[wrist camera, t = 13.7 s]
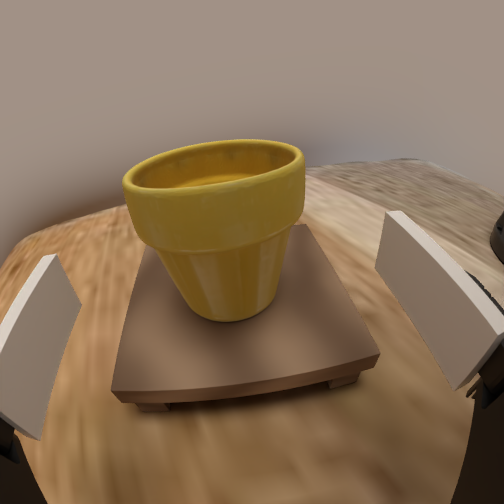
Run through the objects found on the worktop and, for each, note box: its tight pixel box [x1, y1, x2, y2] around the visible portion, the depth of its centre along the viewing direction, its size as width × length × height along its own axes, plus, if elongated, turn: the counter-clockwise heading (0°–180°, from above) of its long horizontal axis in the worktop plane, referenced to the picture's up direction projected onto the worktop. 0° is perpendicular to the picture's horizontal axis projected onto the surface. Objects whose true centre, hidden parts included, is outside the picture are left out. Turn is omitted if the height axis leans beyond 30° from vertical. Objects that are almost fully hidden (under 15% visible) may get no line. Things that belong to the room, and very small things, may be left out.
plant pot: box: [122, 139, 305, 322], centre depth 18 cm, size 10×10×10 cm
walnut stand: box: [111, 224, 380, 412], centre depth 22 cm, size 16×16×4 cm
